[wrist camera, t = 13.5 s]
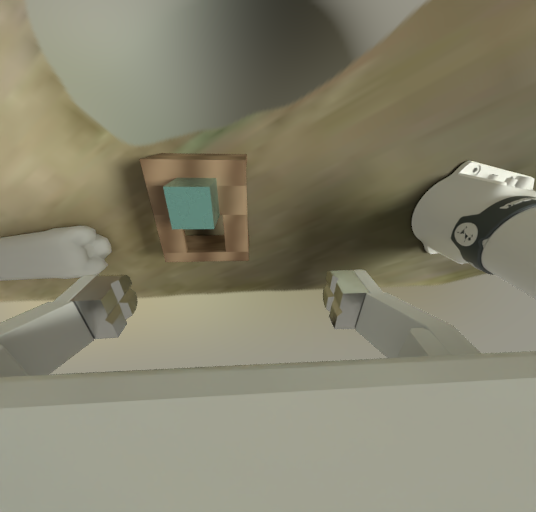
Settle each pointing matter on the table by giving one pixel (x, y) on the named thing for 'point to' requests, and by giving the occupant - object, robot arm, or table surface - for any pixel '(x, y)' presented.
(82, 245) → the bottle
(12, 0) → the table surface
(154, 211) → the tan hollow wooden block
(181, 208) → the teal stemmed block
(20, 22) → the table surface
